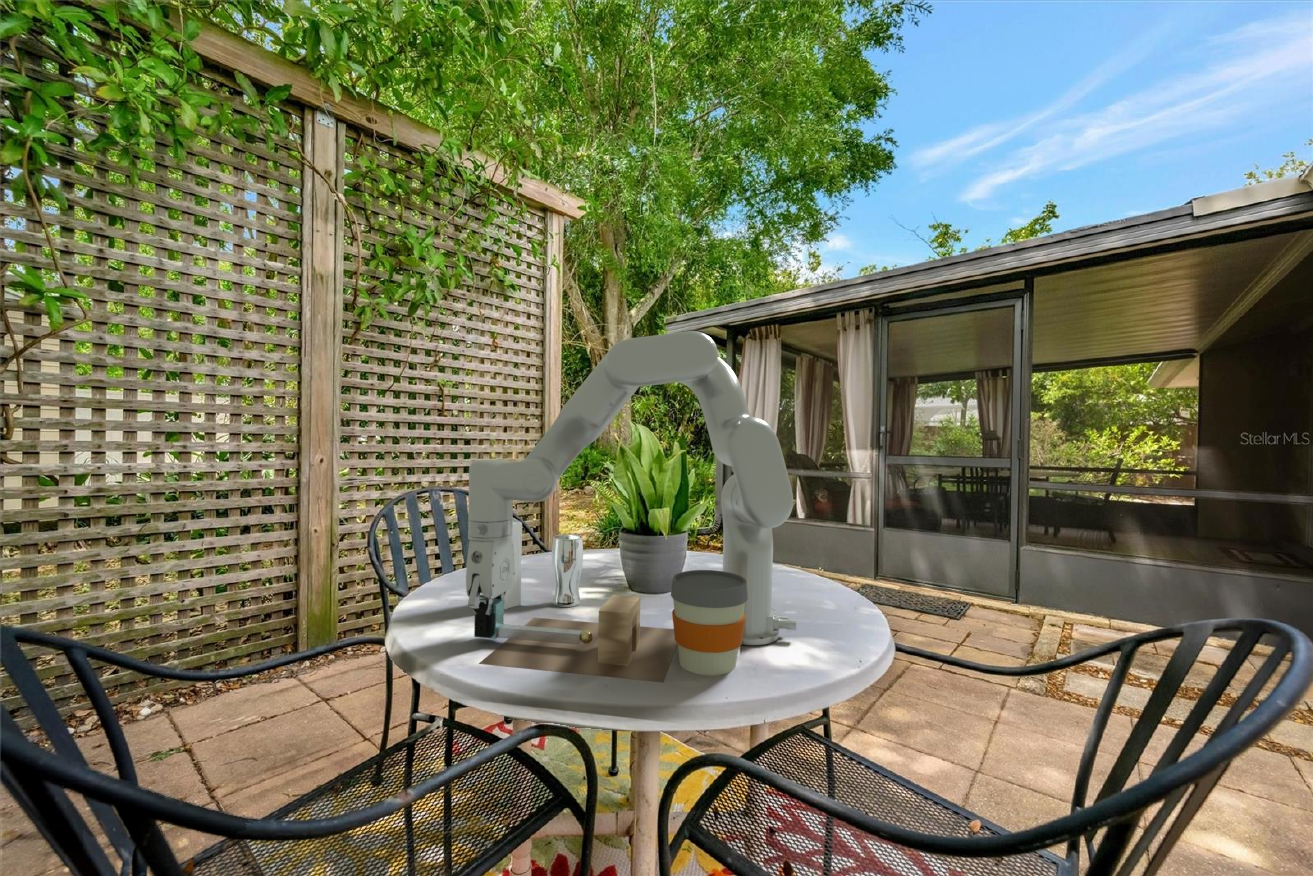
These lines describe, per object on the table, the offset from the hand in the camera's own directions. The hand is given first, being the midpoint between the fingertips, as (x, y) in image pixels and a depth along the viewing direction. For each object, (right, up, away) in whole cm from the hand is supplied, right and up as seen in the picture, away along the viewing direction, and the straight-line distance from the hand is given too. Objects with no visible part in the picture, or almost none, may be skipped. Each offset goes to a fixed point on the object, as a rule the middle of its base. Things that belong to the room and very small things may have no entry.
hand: (489, 631), depth 98 cm
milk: (-4, -3, +20) cm, 21 cm away
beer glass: (+9, -3, +26) cm, 28 cm away
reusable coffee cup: (+38, -4, -7) cm, 39 cm away
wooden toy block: (+23, -2, -4) cm, 24 cm away
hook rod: (+8, -1, -2) cm, 9 cm away
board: (+18, -3, -1) cm, 18 cm away
